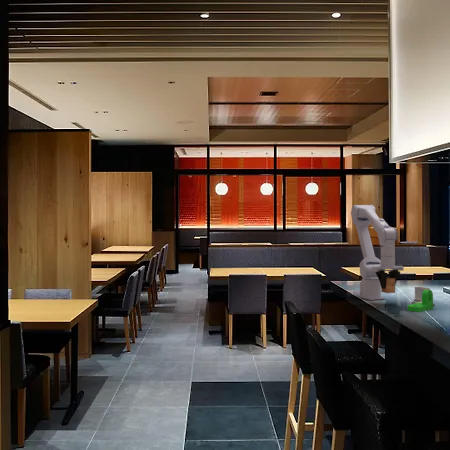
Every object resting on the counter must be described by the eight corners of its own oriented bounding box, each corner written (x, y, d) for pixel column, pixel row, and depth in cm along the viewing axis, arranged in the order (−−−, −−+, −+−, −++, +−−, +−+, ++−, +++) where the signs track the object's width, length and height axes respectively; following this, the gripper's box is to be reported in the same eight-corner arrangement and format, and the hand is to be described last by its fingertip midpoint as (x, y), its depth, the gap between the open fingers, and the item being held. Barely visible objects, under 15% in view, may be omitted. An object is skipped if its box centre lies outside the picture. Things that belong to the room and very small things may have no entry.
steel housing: (413, 301, 226) (413, 286, 226) (420, 300, 227) (420, 286, 227) (424, 303, 219) (424, 288, 219) (431, 303, 220) (431, 288, 220)
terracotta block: (381, 291, 217) (381, 277, 217) (389, 291, 218) (389, 277, 218) (387, 293, 213) (387, 278, 213) (395, 292, 215) (395, 278, 215)
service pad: (411, 304, 217) (411, 301, 217) (422, 303, 219) (422, 301, 219) (423, 306, 210) (423, 304, 210) (434, 306, 212) (434, 303, 212)
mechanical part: (418, 307, 211) (418, 288, 211) (433, 309, 207) (432, 289, 207) (404, 310, 203) (404, 290, 203) (419, 312, 199) (419, 292, 199)
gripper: (379, 257, 210) (379, 290, 210) (408, 256, 215) (408, 288, 215) (368, 256, 217) (369, 288, 217) (397, 255, 221) (397, 286, 221)
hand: (387, 288), depth 216 cm, fingers closed on terracotta block, 4 cm apart
